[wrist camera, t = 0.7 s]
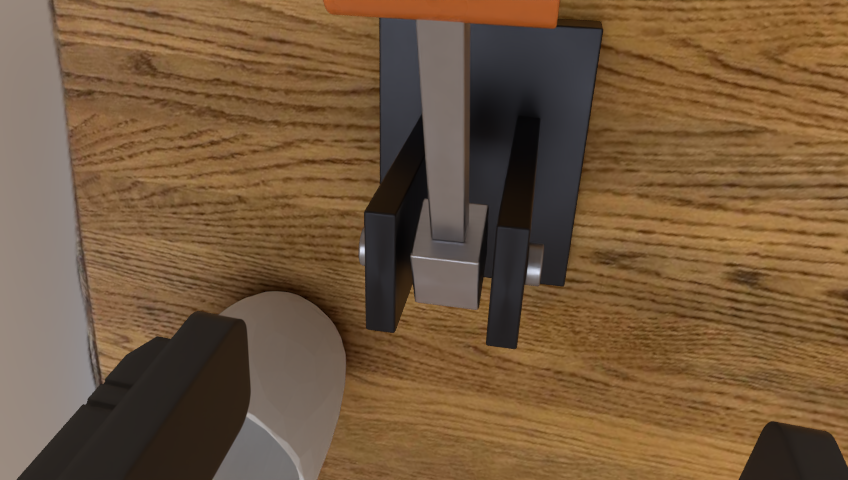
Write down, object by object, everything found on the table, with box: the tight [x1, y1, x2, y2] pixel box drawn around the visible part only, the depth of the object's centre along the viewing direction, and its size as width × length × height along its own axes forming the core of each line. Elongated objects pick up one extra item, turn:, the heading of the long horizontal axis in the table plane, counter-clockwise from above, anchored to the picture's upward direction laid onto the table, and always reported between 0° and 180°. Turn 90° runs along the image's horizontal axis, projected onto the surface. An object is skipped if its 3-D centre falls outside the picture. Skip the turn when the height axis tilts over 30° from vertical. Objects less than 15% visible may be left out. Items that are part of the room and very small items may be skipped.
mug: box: [212, 291, 346, 480], centre depth 35 cm, size 13×9×10 cm
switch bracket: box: [359, 17, 603, 349], centre depth 26 cm, size 12×9×12 cm
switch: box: [323, 0, 560, 310], centre depth 19 cm, size 12×5×2 cm, turn 178°
